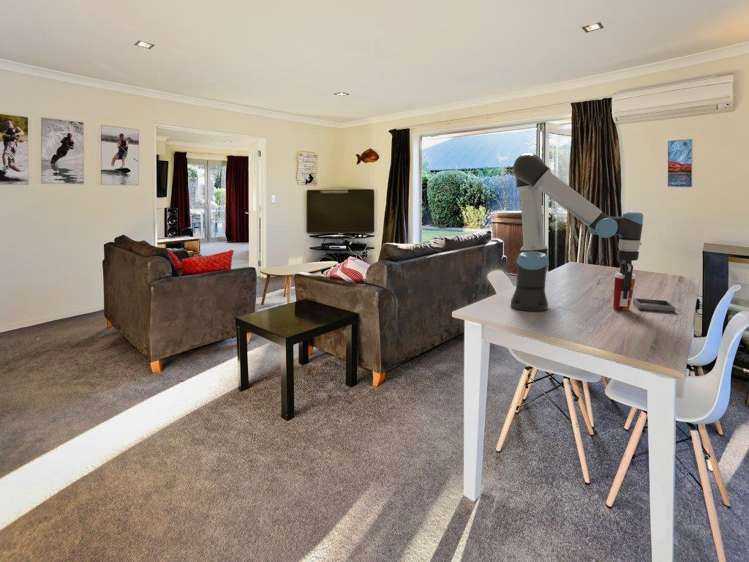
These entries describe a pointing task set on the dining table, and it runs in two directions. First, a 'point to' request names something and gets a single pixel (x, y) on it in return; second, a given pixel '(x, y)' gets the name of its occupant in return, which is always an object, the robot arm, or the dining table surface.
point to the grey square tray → (653, 305)
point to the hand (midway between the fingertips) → (621, 303)
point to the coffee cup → (617, 292)
